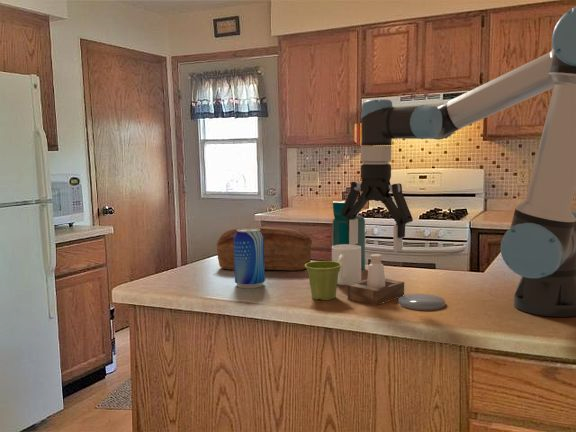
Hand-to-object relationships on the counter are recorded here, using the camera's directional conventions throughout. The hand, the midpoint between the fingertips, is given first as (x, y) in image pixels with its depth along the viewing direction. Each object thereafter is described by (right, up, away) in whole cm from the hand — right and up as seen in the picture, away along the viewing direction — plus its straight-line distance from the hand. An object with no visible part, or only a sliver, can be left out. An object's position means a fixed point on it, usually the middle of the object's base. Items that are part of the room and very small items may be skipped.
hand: (374, 247), depth 139 cm
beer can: (-33, -12, +16) cm, 38 cm away
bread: (-29, -9, +39) cm, 50 cm away
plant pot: (-13, -13, +2) cm, 19 cm away
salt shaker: (+1, -13, +1) cm, 13 cm away
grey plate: (+10, -13, -6) cm, 18 cm away
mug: (-6, -11, +16) cm, 21 cm away
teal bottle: (-3, -9, +33) cm, 34 cm away
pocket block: (+1, -13, +1) cm, 13 cm away
